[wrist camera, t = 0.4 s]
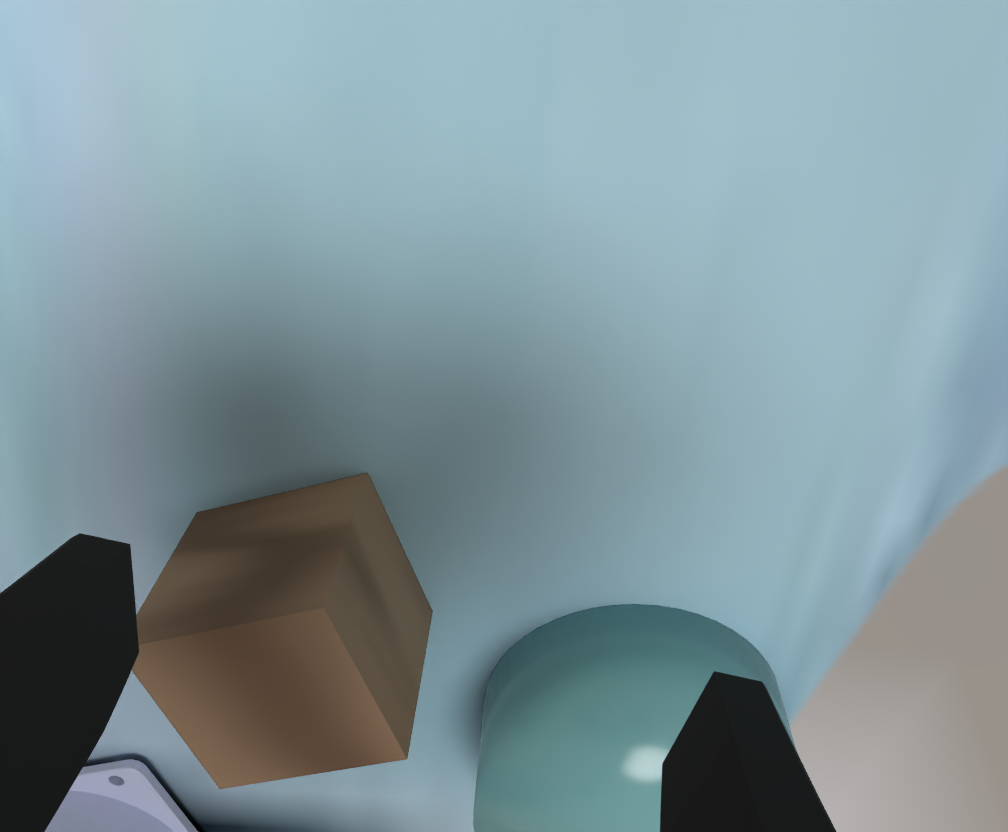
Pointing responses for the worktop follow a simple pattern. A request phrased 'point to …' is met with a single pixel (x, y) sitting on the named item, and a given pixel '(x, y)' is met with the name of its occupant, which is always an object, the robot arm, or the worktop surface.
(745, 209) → the worktop surface
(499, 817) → the teal puck
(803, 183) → the worktop surface
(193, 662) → the walnut cube
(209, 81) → the worktop surface
